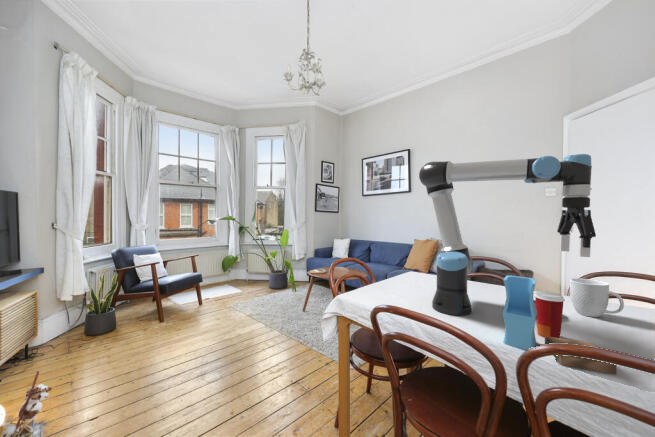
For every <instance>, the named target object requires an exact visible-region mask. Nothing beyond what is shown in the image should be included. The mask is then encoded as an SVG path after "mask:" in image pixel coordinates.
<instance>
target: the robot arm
mask: <svg viewBox="0 0 655 437" xmlns="http://www.w3.org/2000/svg"><path fill="white" fill-rule="evenodd" d="M592 167H593V166H592V156H591V155H590V154H587V153H578V154H571V155H570V154H569V155H565V157H563V161H562V160H561V161H560V160H559V159H558V157H555V156H552V155H544V156H541V157H537V158H536V157H535V158H522V159H504V160H490V161H489V160H488V161H486V160H485V161H474V162H473V161H472V162H471V161H470V162H456V163H453V162H451V161H449V160H447V161H429V162H426V163H425V164H424V165H423V166H421V168H420V169H419V171H418V172H419V173H418V177H419V181H420V184H422V185H423V186H424V187H425V188H426V192H427V196H428V197H430V198H431V199H432V204H433V207H434V208H433V209H434V212H435V217H436V222H437V225H438V229H439V235H440V238H441V242H442V248H441V249H440V253H438V255H437V256H436V291H435V292H434V295H433V298H432V302H431V304H432V306H431V307H432V309H434V310H436V311H438V312H439V313H442V314H446V315H449V316H450V315H451V316H452V315H453V316H467V315H470V314H472V313H473V306H472V303H471V299H470V297H469V294H468V275H469V274H470V273H471V272H472V271H473V267H474V261H473V259H472V256H471V255H470V253H469V248H468V246H467V245H465V244H464V243H463V242H464V241H463V239H462V238H463V237H462V233H461V230H460V225H459V221H458V216H457V213H456V208H455V204H454V201H453V195H452V193H453V192H454V190H455V189H454V184H453V182H455V183H456V182H487V181H490V182H492V181H518V180H519V181H521V180H523V181H524V183H526V184H539V183H556V182H557V183H560V182H562V193H561V195H562V197H563V198H562V202H561V207H562V208H565V209H563V210H561V217H560V220H559V223H558V227H557V230H556V231H557V233H559V235H560V236H559V252H570V240H571V233H570V232H571V230H572V228H573V226H574V224H575V225H576V227H577V230H578V232H579V234H580V235H579V236H578V238H579V247H578V249H579V250H578V257H581V258H591V243H592V241H591V240H592V239H593V238H596V229H595V227H594V223H593V219H592V213H591V212H592V211H591V209H585V208H590V206H591V198H590V197H589V196H591V190H592V189H593V188H592V187H591V185H592V184H591V183H592V182H591V181H592Z"/></svg>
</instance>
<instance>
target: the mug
mask: <svg viewBox="0 0 655 437" xmlns="http://www.w3.org/2000/svg"><path fill="white" fill-rule="evenodd" d="M569 295H570V301H571V303H572V307H573V308H574V310H575V312H577V313H578V314H579V315H582V316H586V317H589V318H590V317H591V318H600V317H602V316H603V315H604V314H609V315H610V314H613V315H614V314H618V313H620V312H622V311H623V310H624V308H625V301H624V299H623V298H622V296H621V295H619V294H618V293H616V292H613V291H610V284H609V283H608V282H605V281H601V280H595V279H590V278H576V277H574V278H573V277H572V278H570V279H569ZM610 295H613V296H615V297H616V298H617V299H618V301H619V307H618V309H616V310H607V309H608V305H609V301H610V300H609V299H610Z"/></svg>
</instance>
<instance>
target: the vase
mask: <svg viewBox="0 0 655 437" xmlns="http://www.w3.org/2000/svg"><path fill="white" fill-rule="evenodd" d="M502 281H503V284H504V288H505V293H506V295H505V296H506V297H505V298H506V299H505V301H506V302H505V303H504V307H503V311H502V317H503V320H504V326H505V328H504V329H505V331H504V338H503V341H502V342H503V344H504V345H507V346H510V347H512V348H513V347H514V348H517V349H522V350H525V351H528V349H529V348H531V347H535V346H537V338H536V334H535V323H536V321H537V318H536V315H537V310H536V307H535V304H534V294H535V293H534V292H535V288H536V285H537V284H536V283H537V279H536V278H533V277H525V276H519V275H518V276H517V275H508V274H507V275H505V277H504V278H503V280H502Z"/></svg>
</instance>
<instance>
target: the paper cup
mask: <svg viewBox="0 0 655 437" xmlns="http://www.w3.org/2000/svg"><path fill="white" fill-rule="evenodd" d="M533 298H535V300H536V310H537V315H536V316H537V318H536V328H537V329H536V330H537V335H538V336H540V337H541V338H543V339H545V338H547V337H554V338H561V335H562V323H563V313H564V312H563V310H564V302H565V301H566V300H565V298H564V296H563V295H562V294H561V293H559V292H554V291H549V290H538V291H535V293H534V294H533Z"/></svg>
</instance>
